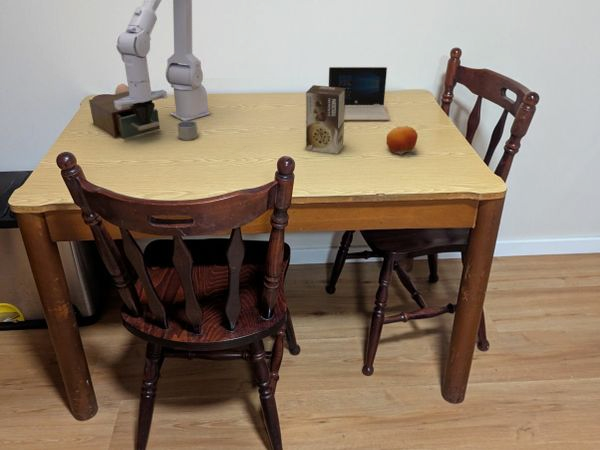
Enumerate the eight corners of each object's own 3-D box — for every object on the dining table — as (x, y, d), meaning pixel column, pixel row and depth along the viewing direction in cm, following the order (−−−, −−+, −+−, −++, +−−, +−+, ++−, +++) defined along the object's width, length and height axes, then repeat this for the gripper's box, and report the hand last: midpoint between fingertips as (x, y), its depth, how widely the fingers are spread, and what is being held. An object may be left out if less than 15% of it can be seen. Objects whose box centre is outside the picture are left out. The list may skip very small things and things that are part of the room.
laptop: (330, 121, 169) (331, 78, 162) (327, 107, 179) (328, 66, 173) (389, 121, 169) (393, 78, 162) (383, 107, 180) (387, 66, 173)
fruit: (402, 156, 143) (395, 126, 143) (385, 161, 150) (379, 132, 150) (427, 150, 146) (420, 120, 146) (410, 155, 154) (403, 127, 153)
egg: (113, 105, 180) (109, 84, 177) (125, 101, 184) (122, 80, 180) (124, 108, 178) (121, 87, 174) (136, 103, 182) (133, 83, 178)
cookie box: (343, 145, 153) (346, 87, 145) (337, 154, 148) (340, 95, 139) (312, 141, 155) (313, 84, 147) (304, 150, 150) (305, 91, 142)
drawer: (169, 133, 157) (166, 114, 154) (132, 144, 151) (129, 124, 148) (137, 116, 169) (134, 98, 166) (102, 125, 163) (98, 106, 160)
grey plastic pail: (191, 132, 161) (189, 119, 159) (201, 137, 158) (200, 124, 156) (175, 136, 158) (173, 123, 156) (185, 142, 155) (184, 129, 153)
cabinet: (155, 127, 164) (151, 102, 160) (115, 138, 157) (111, 112, 153) (131, 114, 173) (128, 91, 169) (93, 124, 166) (88, 99, 162)
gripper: (155, 71, 154) (161, 118, 161) (105, 81, 146) (114, 130, 153) (168, 77, 150) (174, 125, 157) (118, 87, 141) (126, 138, 148)
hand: (145, 128), depth 155 cm, fingers closed, pressing on drawer
